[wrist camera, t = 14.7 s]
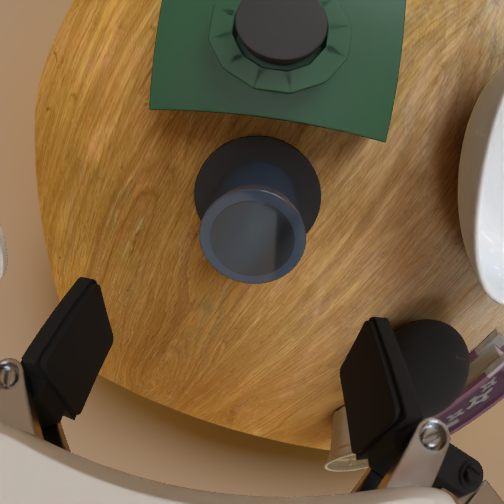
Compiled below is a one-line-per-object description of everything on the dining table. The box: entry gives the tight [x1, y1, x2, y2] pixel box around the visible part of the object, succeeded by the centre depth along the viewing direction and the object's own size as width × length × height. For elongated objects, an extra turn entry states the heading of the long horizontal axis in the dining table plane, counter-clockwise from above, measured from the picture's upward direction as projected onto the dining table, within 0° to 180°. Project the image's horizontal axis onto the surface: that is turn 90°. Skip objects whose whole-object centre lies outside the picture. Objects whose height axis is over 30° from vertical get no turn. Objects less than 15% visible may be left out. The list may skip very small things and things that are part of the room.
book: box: [426, 329, 504, 435], centre depth 32 cm, size 25×16×5 cm, turn 149°
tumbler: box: [199, 161, 306, 284], centre depth 18 cm, size 6×6×6 cm
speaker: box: [394, 319, 470, 419], centre depth 22 cm, size 10×10×10 cm
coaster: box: [195, 136, 321, 234], centre depth 20 cm, size 9×9×1 cm
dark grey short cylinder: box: [235, 0, 328, 65], centre depth 10 cm, size 4×4×2 cm
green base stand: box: [149, 0, 406, 142], centre depth 13 cm, size 14×10×5 cm
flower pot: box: [325, 406, 369, 472], centre depth 32 cm, size 9×9×9 cm
